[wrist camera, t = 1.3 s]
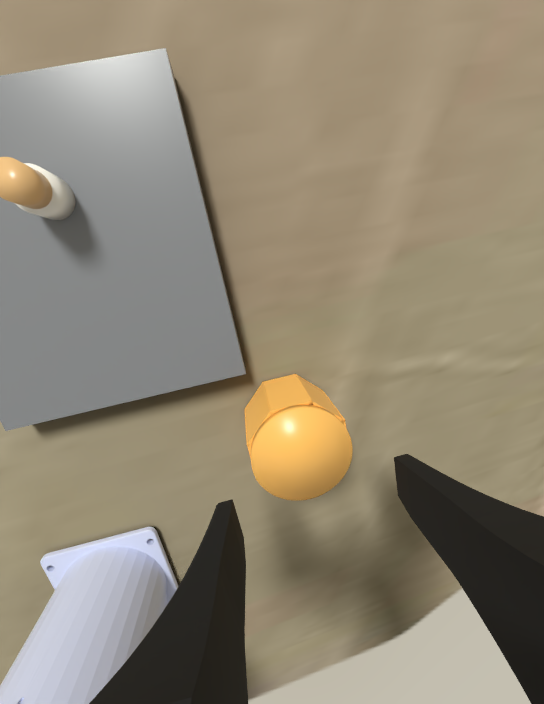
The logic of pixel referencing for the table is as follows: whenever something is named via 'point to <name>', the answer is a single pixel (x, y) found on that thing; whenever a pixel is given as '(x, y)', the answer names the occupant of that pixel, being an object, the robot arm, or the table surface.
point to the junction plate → (104, 243)
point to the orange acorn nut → (296, 439)
